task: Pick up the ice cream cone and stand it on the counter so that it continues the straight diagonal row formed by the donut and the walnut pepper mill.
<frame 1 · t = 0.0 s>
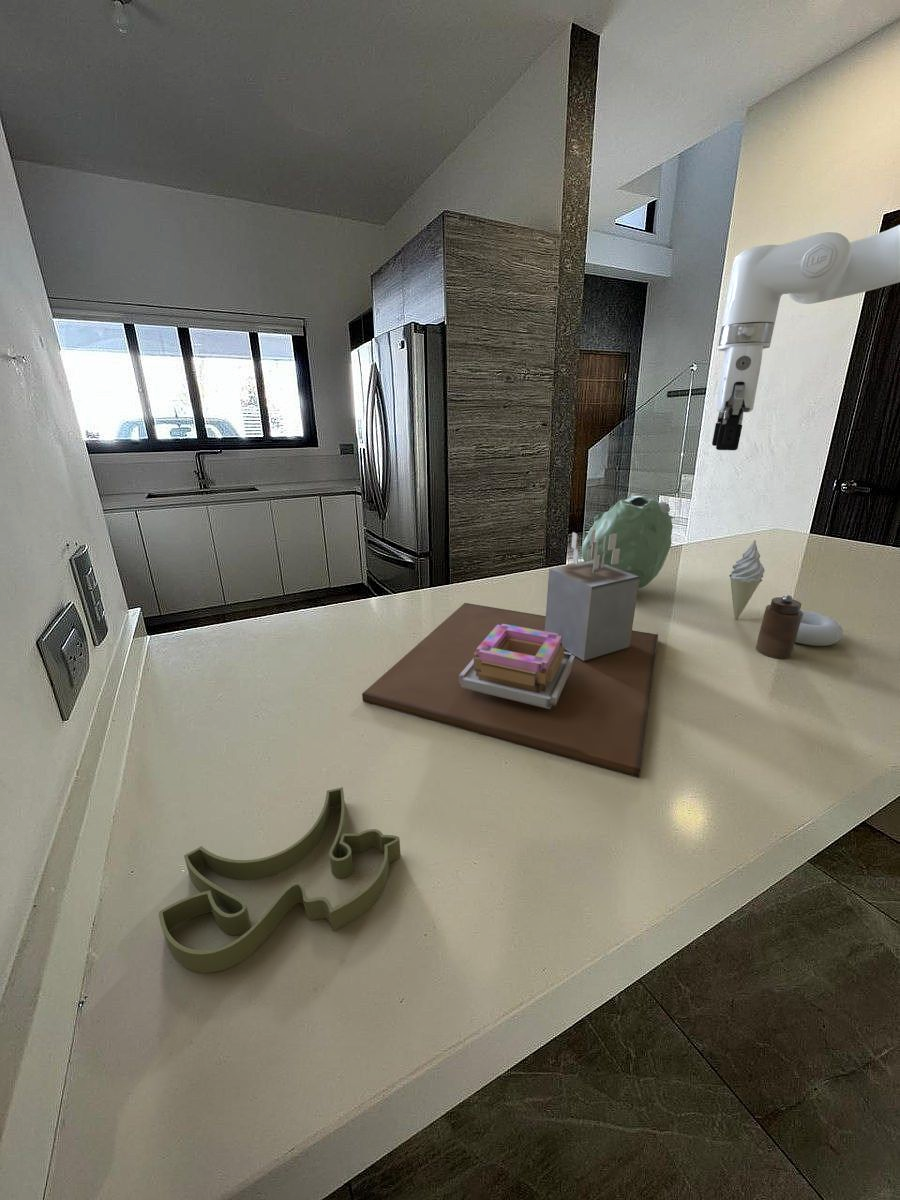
hand: (723, 447, 85), 29 cm above the countertop, tool pointing down, fingers open, 9 cm apart
cookie cutter: (289, 883, 40), on the countertop
donut: (802, 637, 81), on the countertop
green ceramic vase: (620, 590, 103), on the countertop
ice cream cone: (735, 620, 88), on the countertop
pepper mill: (772, 651, 76), on the countertop
brown serving board set: (525, 668, 72), on the countertop
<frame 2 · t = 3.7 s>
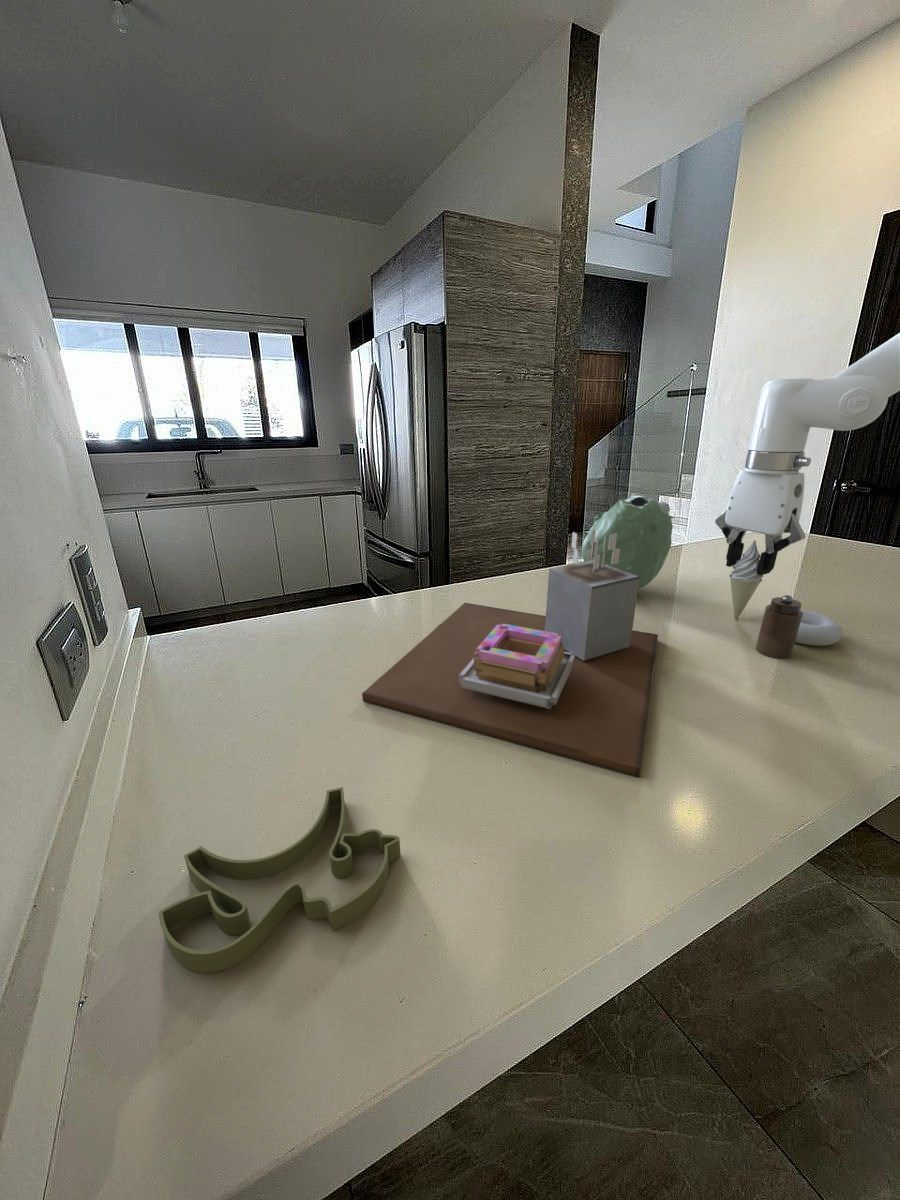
hand: (747, 568, 84), 10 cm above the countertop, tool pointing down, fingers closed on ice cream cone, 4 cm apart
ice cream cone: (735, 620, 88), on the countertop, touching gripper
everything else where it was.
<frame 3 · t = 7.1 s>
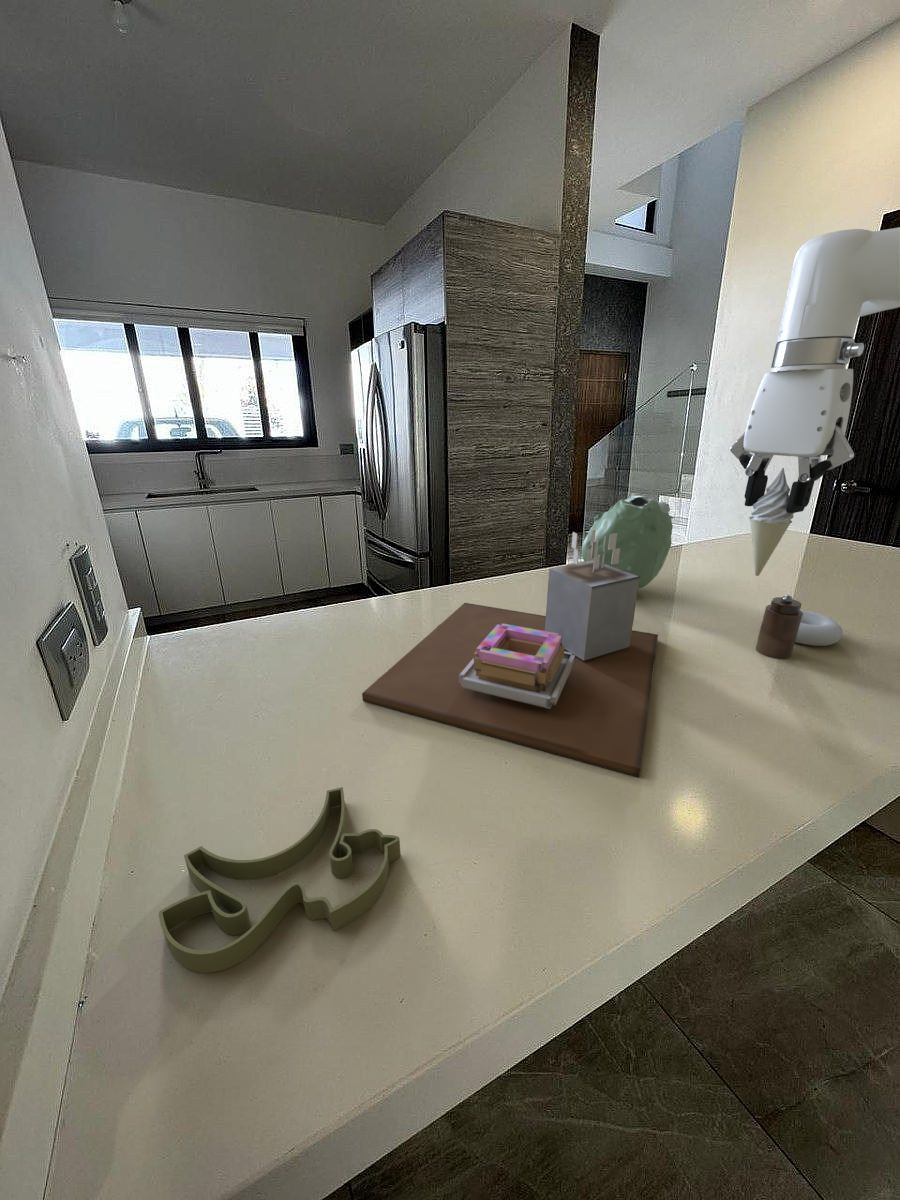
hand: (773, 507, 65), 24 cm above the countertop, tool pointing down, fingers closed on ice cream cone, 4 cm apart
ice cream cone: (756, 576, 69), point 14 cm above the countertop, touching gripper
everything else where it was.
when the fingers open (10 cm above the countertop, at t = 10.7 s): ice cream cone stays where it is, on the countertop.
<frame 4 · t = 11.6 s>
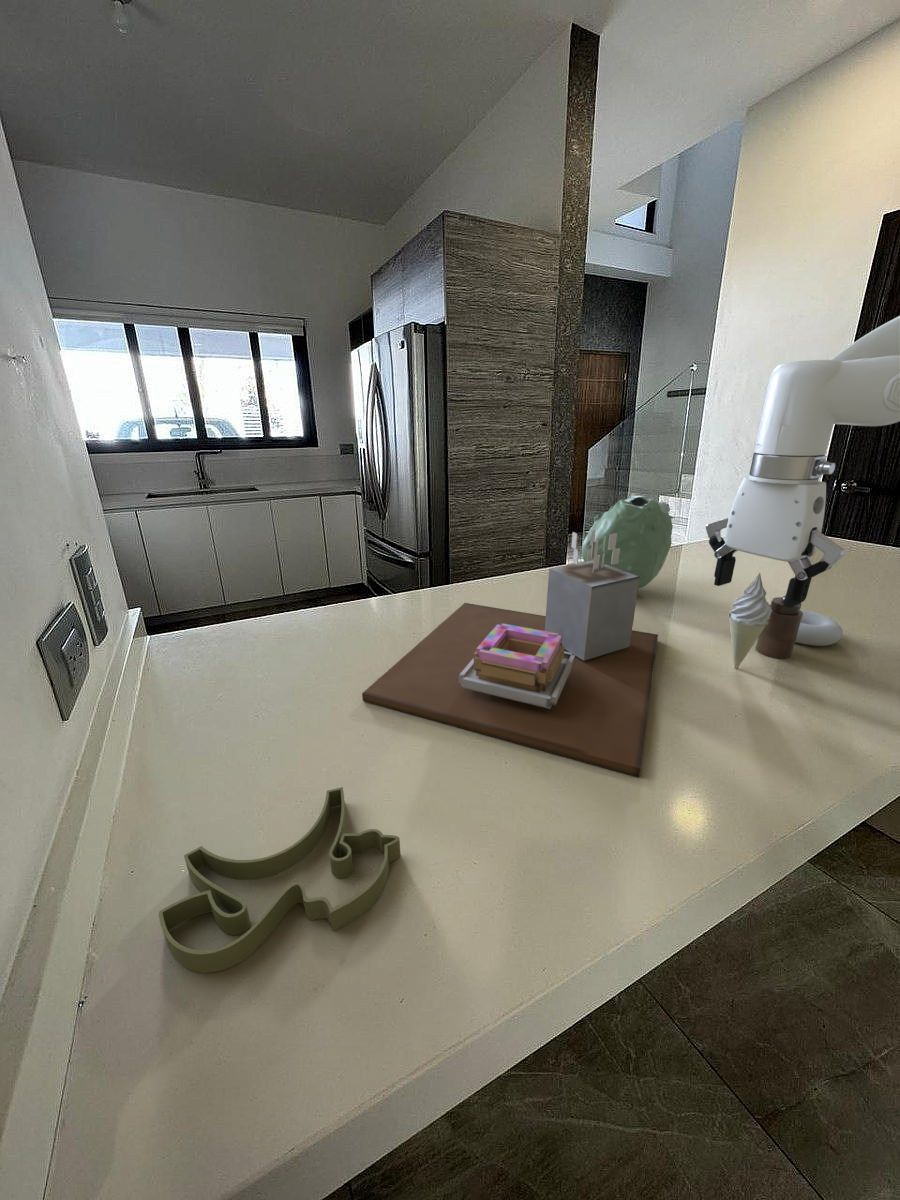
hand: (755, 594, 67), 12 cm above the countertop, tool pointing down, fingers open, 9 cm apart
ice cream cone: (735, 668, 72), on the countertop
everything else where it was.
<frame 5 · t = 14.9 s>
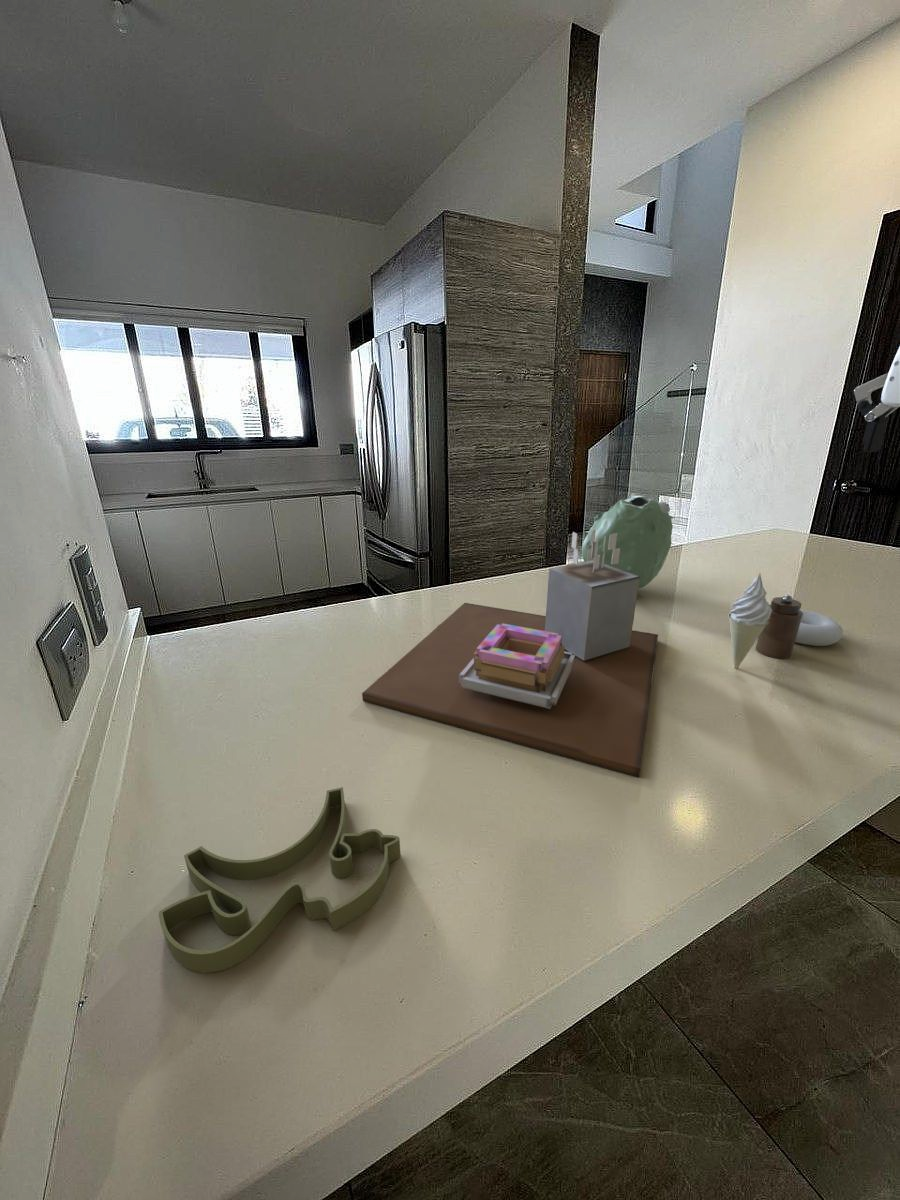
nothing on the countertop moved.
at the end: ice cream cone 0.0 cm from the target spot, on the countertop; ice cream cone tilted 0°; donut moved 0.2 cm from its start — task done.
